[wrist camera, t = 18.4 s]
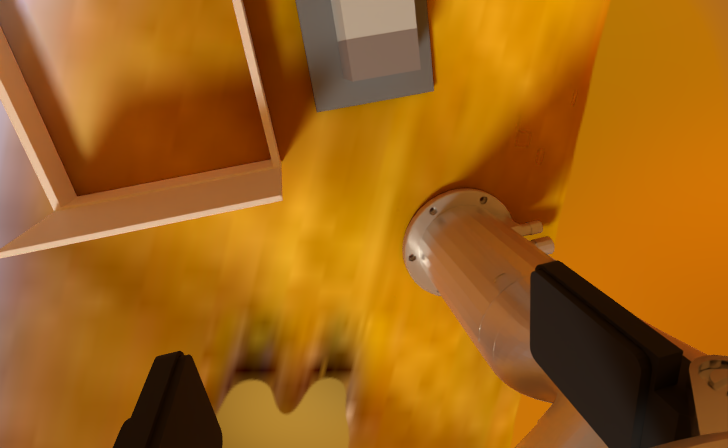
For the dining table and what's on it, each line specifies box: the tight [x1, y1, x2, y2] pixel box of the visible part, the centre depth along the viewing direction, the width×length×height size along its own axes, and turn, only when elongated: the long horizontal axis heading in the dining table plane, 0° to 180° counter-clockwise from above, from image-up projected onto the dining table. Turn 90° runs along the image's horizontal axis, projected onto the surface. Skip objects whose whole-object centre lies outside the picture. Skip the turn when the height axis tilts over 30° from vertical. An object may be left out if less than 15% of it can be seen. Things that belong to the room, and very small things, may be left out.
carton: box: [0, 0, 282, 258], centre depth 30 cm, size 19×18×11 cm
